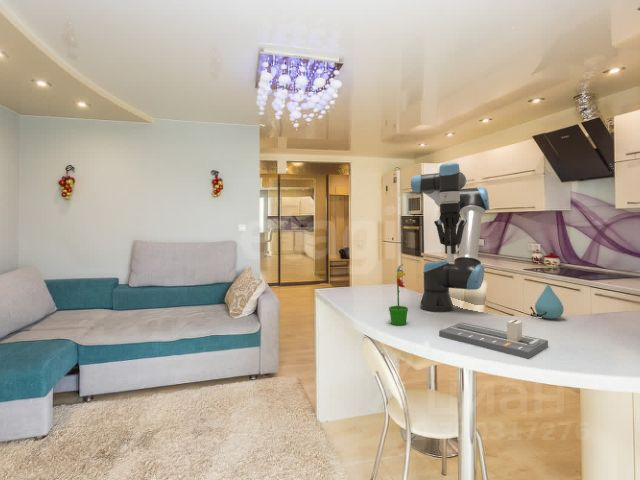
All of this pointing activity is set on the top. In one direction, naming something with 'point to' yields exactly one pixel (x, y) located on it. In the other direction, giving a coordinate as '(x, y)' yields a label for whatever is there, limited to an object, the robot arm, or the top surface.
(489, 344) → the console
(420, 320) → the top surface
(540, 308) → the toy
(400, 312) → the potted flower
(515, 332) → the fader tab
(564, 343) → the top surface
